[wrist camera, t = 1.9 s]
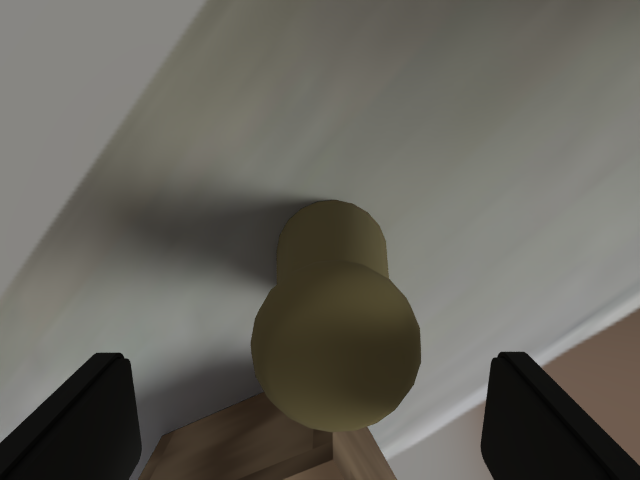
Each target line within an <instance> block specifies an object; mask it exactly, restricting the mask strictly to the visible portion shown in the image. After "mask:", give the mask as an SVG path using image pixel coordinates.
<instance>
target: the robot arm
mask: <svg viewBox="0 0 640 480" xmlns="http://www.w3.org/2000/svg"><path fill="white" fill-rule="evenodd" d="M141 450H142V445H141V437H140V430H139V422H138V415H137V407H136V400H135V393H134V385H133V378H132V370H131V364H130V361H129V359H124V356H123V355H122V354H121V353H96V354H94V355H93V356H92V357H91V358H90V359H89V360H88V361H87V362H85V363H84V364H83V365H82V366H81V367H80V368H79V369H78V370H77V371H76V372H75V373H74V374H73V375H72V376H71V377H70V378H69V379H67V380H66V381H65V382H64V383H63V384H62V385H61V386H60V387H59V388H58V389H57V390H56V391H55V392H54V393H53V394H52V395H51V396H50V397H48V398H47V399H46V400H45V401H44V402H43V403H42V404H41V405H40V406H39V407H38V408H37V409H36V410H35V411H34V412H33V413H32V414H30V415H29V416H28V417H27V418H26V419H25V420H24V421H23V422H22V423H21V424H20V425H19V426H18V427H17V428H16V429H15V430H14V431H13V432H11V433H10V434H9V435H8V436H7V437H6V438H5V439H4V440H3V441H2V442H1V443H0V480H129V478H130V476H131V474H132V473H133V471H134V469H135V467H136V465H137V464H138V461H139V459H140V456H141ZM481 452H482V457H483V459H484V462H485V464H486V465H487V467H488V469H489V471H490V473H491V475H492V477H493V479H494V480H640V466H639V465H638V464H637V463H636V462H635V461H634V460H633V459H632V458H631V457H630V456H629V455H628V454H627V453H626V452H625V451H624V450H623V449H622V448H621V447H620V446H619V445H618V444H617V443H616V442H615V441H614V440H613V439H612V438H611V437H610V436H609V435H608V434H607V433H606V432H605V431H604V430H603V429H602V428H601V427H600V426H599V425H598V424H597V423H596V422H595V421H594V420H593V419H592V418H591V417H590V416H589V415H588V414H587V413H586V412H585V411H584V410H583V409H582V408H581V407H580V406H579V405H578V404H577V403H576V402H575V401H574V400H573V399H572V398H571V397H570V396H569V395H568V394H567V393H566V392H565V391H564V390H563V389H562V388H561V387H560V386H559V385H558V384H557V383H556V382H555V381H554V380H553V379H552V378H551V377H550V376H549V375H548V374H547V373H546V372H545V371H544V370H543V369H542V368H541V367H540V366H539V365H538V364H537V363H536V362H535V361H534V360H533V359H532V358H531V357H530V356H529V355H528V354H526V353H525V352H500V353H499V355H498V357H497V358H493V359H492V361H491V368H490V375H489V383H488V391H487V399H486V407H485V415H484V422H483V430H482V439H481Z"/></svg>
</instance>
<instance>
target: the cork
mask: <svg viewBox="0 0 640 480" xmlns="http://www.w3.org/2000/svg"><path fill="white" fill-rule="evenodd" d="M251 353H252V359H253V365H254V371H255V376H256V378H257V380H258V382H259V383H260V385H261V387H262V389H263V390H264V392H265V394H266V396H267V397H268V398H269V400H270V401H271V402H272V403H273V404H274V405H275V406H276V407H277V408H278V409H279V410H281V411H282V412H283V413H284V414H285V415H286V416H287V417H288V418H290V419H292V420H294V421H296V422H298V423H300V424H302V425H304V426H306V427H308V428H311V429H317V430H322V431H327V432H344V431H355V430H358V429H361V428H364V427H367V426H370V425H372V424H375V423H377V422H379V421H380V420H382V419H383V418H384V417H386V416H387V415H389V414H390V413H391V412H393V411H394V410H395V409H396V408H397V407H398V405H399V404H400V403H401V401H402V400H403V399H404V397H405V396H406V395H407V393H408V392H409V391H410V389H411V388H412V386H413V385H414V382H415V379H416V376H417V373H418V370H419V367H420V364H421V343H420V327H419V325H418V323H417V320H416V318H415V315H414V313H413V311H412V308H411V306H410V304H409V302H408V300H407V298H406V297H405V296H404V295H403V294H402V293H401V291H400V290H399V289H398V288H397V287H396V286H395V285H394V284H393V283H392V281H391V280H390V279H389V275H388V262H387V250H386V241H385V238H384V236H383V233H382V231H381V229H380V226H379V225H378V224H377V222H376V221H375V220H374V219H373V218H372V217H371V216H370V214H369V213H368V212H366V211H364V210H363V209H361V208H359V207H357V206H356V205H354V204H352V203H347V202H342V201H338V200H330V201H320V202H316V203H313V204H311V205H309V206H307V207H304V208H302V209H300V210H299V211H298V212H297V213H296V214H295V215H294V216H293V217H291V218H290V219H289V220H288V222H287V223H286V225H285V227H284V229H283V230H282V232H281V234H280V236H279V242H278V247H277V285H276V286H275V287H274V288H273V289H271V290H270V292H269V294H268V296H267V297H266V299H265V301H264V302H263V304H262V306H261V308H260V309H259V311H258V313H257V316H256V318H255V322H254V327H253V333H252V338H251Z"/></svg>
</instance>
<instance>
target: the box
mask: <svg viewBox="0 0 640 480" xmlns="http://www.w3.org/2000/svg"><path fill="white" fill-rule="evenodd" d="M138 480H397V479H396V477H395V475H394V473H393V472H392V470H391V468H390V466H389V465H388V463H387V461H386V459H385V457H384V456H383V454H382V452H381V450H380V449H379V447H378V445H377V443H376V441H375V440H374V438H373V436H372V434H371V433H370V431H369V429H368V427H364V428H361V429H358V430H355V431H344V432H327V431H322V430H317V429H311V428H308V427H306V426H304V425H302V424H300V423H298V422H296V421H294V420H292V419H290V418H288V417H287V416H286V415H285V414H284V413H283V412H282V411H281V410H279V409H278V408H277V407H276V406H275V405H274V404H273V403H272V402H271V401H270V400H269V398H268V397H267V396H266V394H265V392H263V393H260V394H258V395H256V396H253V397H251V398H249V399H247V400H244V401H242V402H240V403H237V404H235V405H233V406H230V407H228V408H226V409H223V410H221V411H219V412H217V413H214V414H212V415H210V416H207V417H205V418H203V419H200V420H198V421H196V422H193V423H191V424H189V425H187V426H184V427H182V428H180V429H177V430H175V431H173V432H170V433H168V434H166V435H163V436H162V437H161V439H160V441H159V443H158V444H157V446H156V448H155V450H154V452H153V453H152V455H151V457H150V459H149V461H148V463H147V464H146V466H145V468H144V470H143V472H142V473H141V475H140V477H139V479H138Z"/></svg>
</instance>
